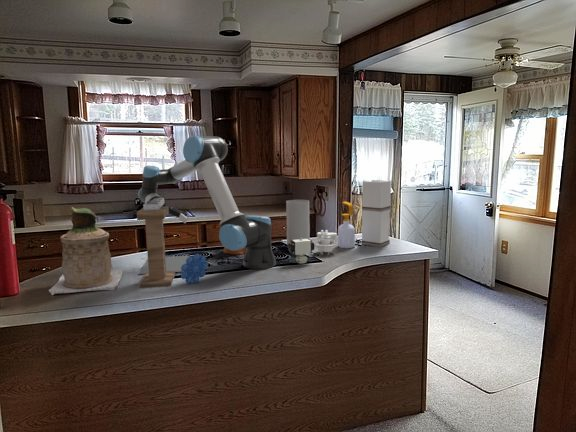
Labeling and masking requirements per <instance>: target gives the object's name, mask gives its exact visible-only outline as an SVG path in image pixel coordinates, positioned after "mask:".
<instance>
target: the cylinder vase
mask: <svg viewBox="0 0 576 432" xmlns="http://www.w3.org/2000/svg"><path fill="white" fill-rule="evenodd" d="M285 203H286V204H285V207H286V210H285V211H286V245H287V247H288V244H289V243H290V242H291V240H297V239H300V238H302V239H310V240H311V238H310V234H311V233H310V229H311V228H310V200H308V199H289V200H286V202H285Z"/></svg>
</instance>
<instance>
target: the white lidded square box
mask: <svg viewBox="0 0 576 432" xmlns="http://www.w3.org/2000/svg"><path fill="white" fill-rule="evenodd" d="M391 187H392V180H380V179H379V180H378V179H377V180H375V179H371V181H368V180H367V181H365V180H363V181H362V187H361V188H362V192H361V193H362V195H361V196H362V199H361V201H362V205H361V206H362V207H361V210H362V211H361V213H362V214H361V215H362V216H361V220H362V221H361V225H362V226H361V245H364V246H372V247H379V248H381V247H384V246H387V245H388V244H390V243H391V240H390V236H389V235H390V213H391V196H392V194H391V191H392V188H391Z"/></svg>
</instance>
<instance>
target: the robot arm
mask: <svg viewBox="0 0 576 432" xmlns="http://www.w3.org/2000/svg"><path fill="white" fill-rule="evenodd" d="M182 147H183V148H182V155H183V158H184V160H182V161H181V162H178V163H176V164H175V165H173V166H171V167H169V168H167V169H160V168H159V167H158V166H155V165H146V166H144V168H143V171H142V183H141V188H140V189H139V190H138V192H137V195H138V196H137V197H138V198H139V199H140V201H141V202H142V203H143V204H145V203H149V202H150V201H152V200H153V199H154V198H162V197H161V196H160V195H159V194H158V193H157V192H158V187H159V185H168V184H169V185H170V184H178V183H181V182H182V181H183V178H186V177H188V176H190V175H192V174H193V173H195V172H197V171H198V172H200V174H201V176H202V179H203V180H204V183H205V186H206V188H207V190H208V193H209V195H210V197H211V200H212V202H213V204H214V206H215V208H216V211H217V213H218V216H219V219H220V222H219V227H220V229H219V232H218V233H219V234H218V238H219V241H220V244H221V245H222V246H223V247H225V248H227V249H229V250H233V251H235V250H241V249H243V248H246V252H245V253H244V256H243V259H242V265H243V267H244V268H246V269H251V270H252V269H253V270H263V269H269V268H273V267H275V266H276V264H277V263H276V262H277V261H276V260H277V259H276V257H275V253H274V251H273V248H272V220H271V218H270V217H269V216H264V215H263V216H262V215H245V214H244V213H242V212H240V210H239V208H238V206H237V204H236V202H235V199H234V197H233V195H232V192H231V191H230V188H229V185H228V184H227V181H226V178H225V176H224V173H223V172H222V170H221V168H220V165H219V163H220V162H221V161H223V160H224V159H225V158H226V157H227V155H228V151H229V149H228V148H229V147H228V145H227V143H226V140H224V139H223V138H222V137H220V136H218V135H217V136H216V135H192V136H188V137H187V139H186V140H185V141H184V144H183V146H182ZM162 206H168V205H167V204H166V201H165V200H164V204H163V205H162ZM168 215H172V216H175V217H176V218H178V219H179V220H180V221H182V223H183V224H187V221H188V217H187V213H186V212H185V211H182V210H179V209H178V208H176V207H174V206H172V205H171V206H169V214H168Z"/></svg>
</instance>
